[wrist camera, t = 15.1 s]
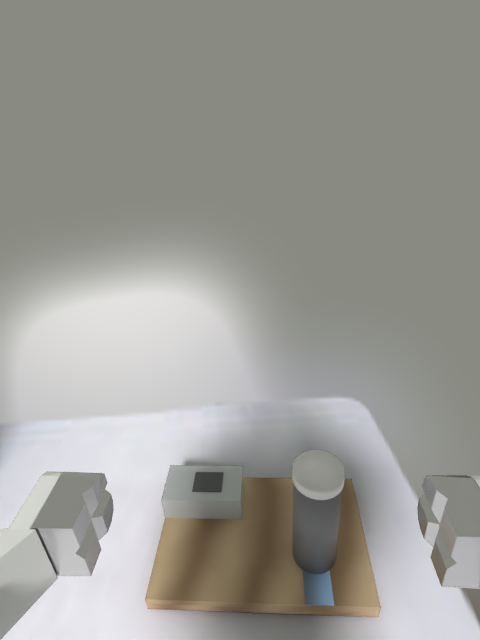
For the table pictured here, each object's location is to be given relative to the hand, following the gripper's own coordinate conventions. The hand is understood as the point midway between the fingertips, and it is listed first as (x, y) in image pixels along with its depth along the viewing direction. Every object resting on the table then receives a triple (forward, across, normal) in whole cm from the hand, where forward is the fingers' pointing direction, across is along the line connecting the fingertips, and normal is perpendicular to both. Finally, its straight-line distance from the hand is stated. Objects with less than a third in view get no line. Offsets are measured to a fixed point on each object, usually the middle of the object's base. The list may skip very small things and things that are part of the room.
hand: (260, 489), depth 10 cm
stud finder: (+22, +7, +28) cm, 36 cm away
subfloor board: (+18, +1, +30) cm, 35 cm away
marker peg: (+16, -4, +28) cm, 33 cm away
